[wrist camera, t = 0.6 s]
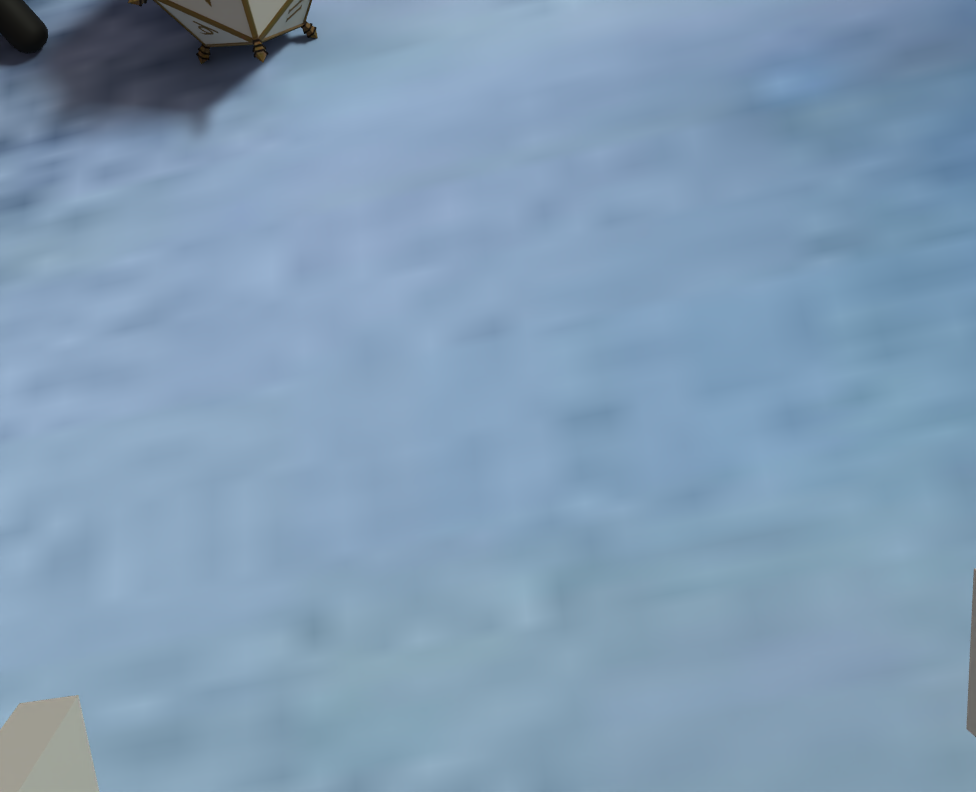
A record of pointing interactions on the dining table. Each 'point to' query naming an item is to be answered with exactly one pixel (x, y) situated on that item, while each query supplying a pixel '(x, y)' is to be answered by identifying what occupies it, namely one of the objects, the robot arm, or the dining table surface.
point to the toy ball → (22, 26)
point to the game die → (237, 21)
